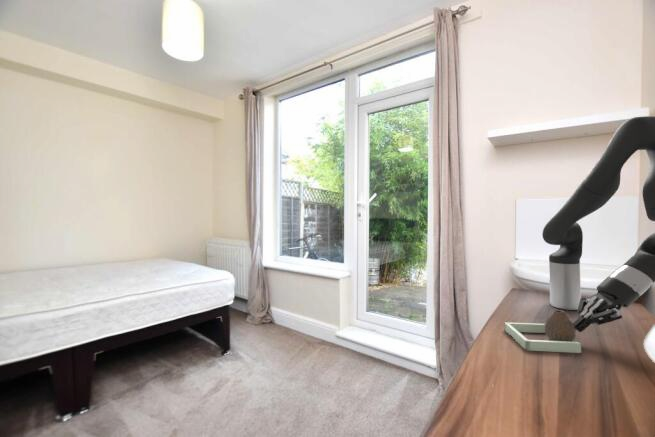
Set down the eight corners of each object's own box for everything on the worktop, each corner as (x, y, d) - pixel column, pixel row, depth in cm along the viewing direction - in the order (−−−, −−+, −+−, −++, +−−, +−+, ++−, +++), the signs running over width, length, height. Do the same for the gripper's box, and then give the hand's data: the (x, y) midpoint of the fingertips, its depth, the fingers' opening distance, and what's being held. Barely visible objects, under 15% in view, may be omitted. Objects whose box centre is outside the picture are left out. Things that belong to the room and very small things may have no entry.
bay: (504, 330, 92) (504, 322, 92) (550, 331, 89) (550, 323, 89) (526, 350, 78) (525, 341, 78) (581, 353, 76) (580, 343, 76)
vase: (569, 338, 84) (568, 308, 84) (580, 348, 78) (579, 316, 78) (541, 335, 87) (540, 306, 87) (550, 345, 80) (549, 314, 80)
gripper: (594, 271, 87) (550, 311, 89) (633, 281, 74) (580, 328, 76) (616, 289, 86) (571, 329, 88) (658, 302, 73) (604, 349, 75)
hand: (575, 328), depth 82 cm, fingers closed
